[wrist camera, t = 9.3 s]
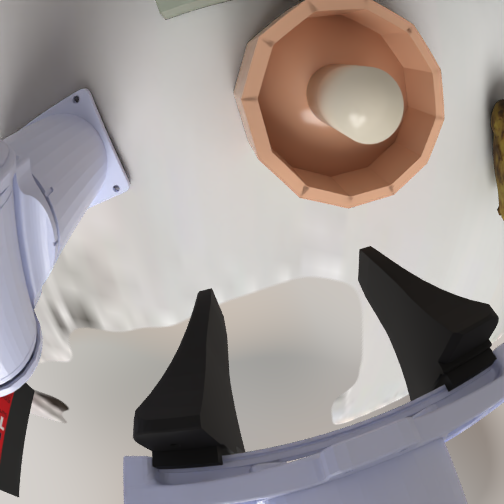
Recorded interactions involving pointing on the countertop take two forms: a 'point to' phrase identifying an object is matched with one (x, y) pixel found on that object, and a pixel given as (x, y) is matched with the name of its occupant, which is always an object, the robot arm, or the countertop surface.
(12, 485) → the cleaning product box
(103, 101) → the countertop surface
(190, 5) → the parts tray
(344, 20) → the bowl
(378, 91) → the cream rounded capsule
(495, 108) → the potato
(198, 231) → the countertop surface
